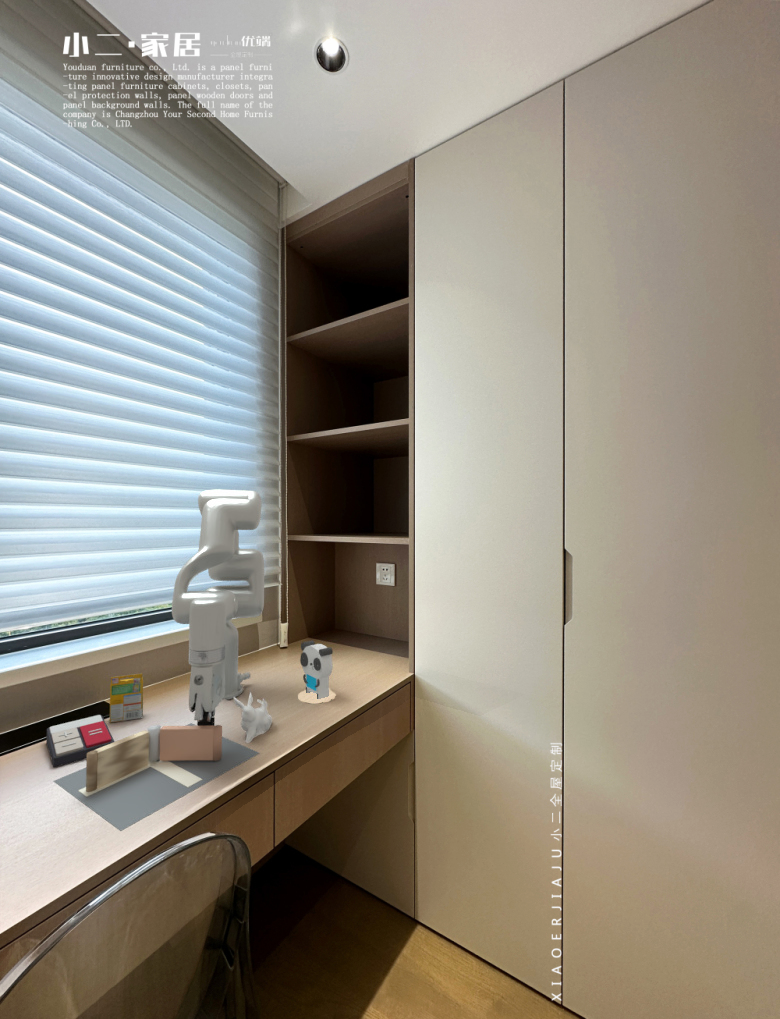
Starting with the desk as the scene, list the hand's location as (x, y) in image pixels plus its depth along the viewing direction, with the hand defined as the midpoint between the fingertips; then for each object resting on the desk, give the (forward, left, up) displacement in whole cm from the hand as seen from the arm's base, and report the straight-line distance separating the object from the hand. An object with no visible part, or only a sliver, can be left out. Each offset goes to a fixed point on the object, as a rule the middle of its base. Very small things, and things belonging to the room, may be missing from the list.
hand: (205, 736), depth 102 cm
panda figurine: (-39, -2, -4) cm, 39 cm away
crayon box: (0, -32, -4) cm, 32 cm away
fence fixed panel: (+16, -6, -4) cm, 17 cm away
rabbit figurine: (-12, 0, -4) cm, 13 cm away
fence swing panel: (+5, -1, -3) cm, 5 cm away
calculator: (+14, -26, -5) cm, 30 cm away
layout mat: (+8, -3, -4) cm, 10 cm away
